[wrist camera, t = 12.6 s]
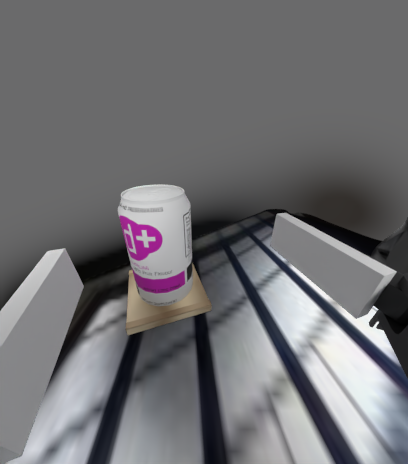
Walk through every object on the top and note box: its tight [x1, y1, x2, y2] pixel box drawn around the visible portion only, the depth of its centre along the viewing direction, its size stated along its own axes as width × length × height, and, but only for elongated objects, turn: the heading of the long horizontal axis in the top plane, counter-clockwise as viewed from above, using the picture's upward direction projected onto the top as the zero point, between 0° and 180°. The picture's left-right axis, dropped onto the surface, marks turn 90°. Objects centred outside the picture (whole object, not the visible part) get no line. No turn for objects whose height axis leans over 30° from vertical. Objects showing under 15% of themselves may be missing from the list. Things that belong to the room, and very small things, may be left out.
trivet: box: [126, 263, 211, 335], centre depth 27 cm, size 11×11×1 cm
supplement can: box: [118, 185, 193, 306], centre depth 24 cm, size 8×8×15 cm
